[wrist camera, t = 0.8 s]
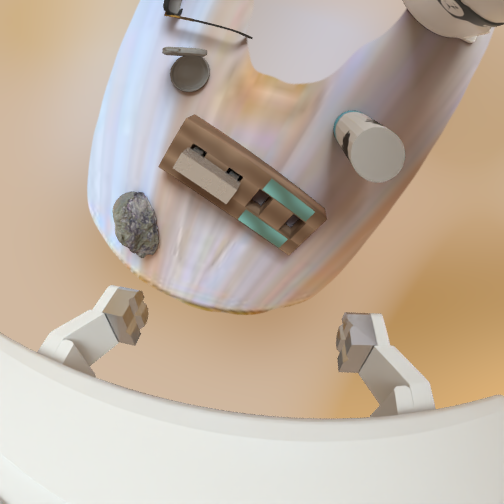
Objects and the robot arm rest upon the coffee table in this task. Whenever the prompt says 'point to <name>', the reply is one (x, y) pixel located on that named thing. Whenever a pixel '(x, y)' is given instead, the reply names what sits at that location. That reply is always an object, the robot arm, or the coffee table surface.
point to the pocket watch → (188, 68)
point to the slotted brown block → (249, 187)
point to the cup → (369, 146)
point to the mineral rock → (136, 223)
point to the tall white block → (207, 174)
